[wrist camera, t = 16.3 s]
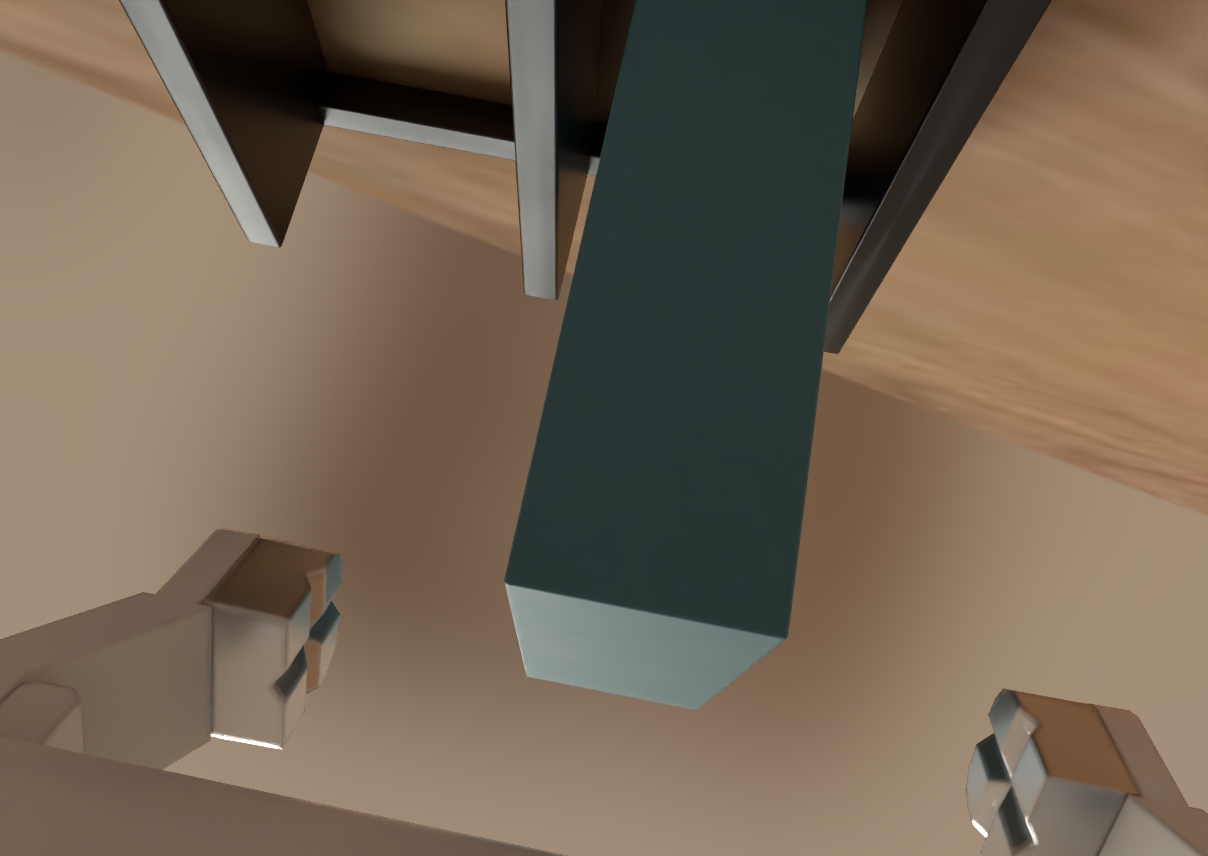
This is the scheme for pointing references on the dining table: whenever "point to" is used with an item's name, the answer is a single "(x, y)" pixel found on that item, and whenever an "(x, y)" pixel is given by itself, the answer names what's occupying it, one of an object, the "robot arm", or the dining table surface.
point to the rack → (563, 118)
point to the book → (690, 354)
